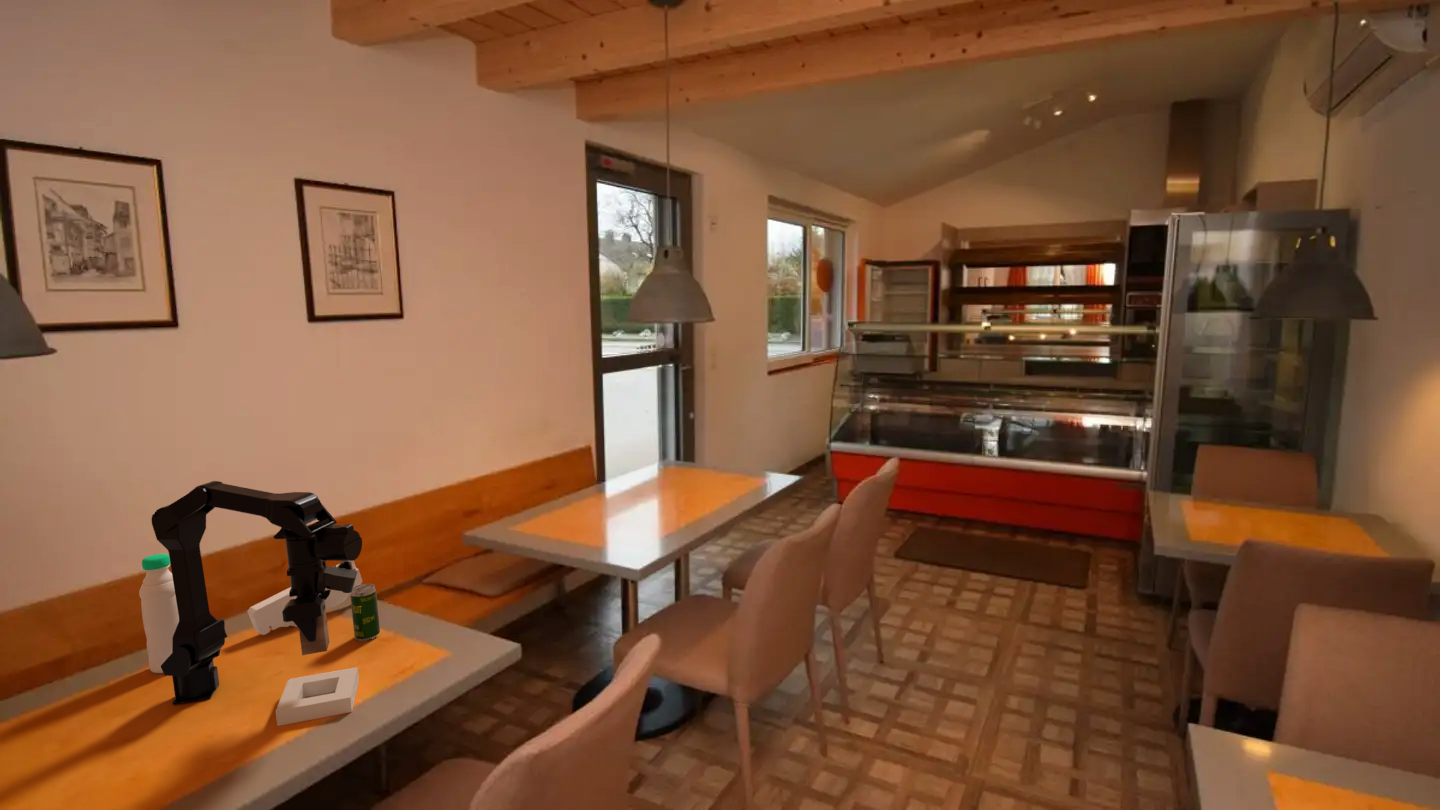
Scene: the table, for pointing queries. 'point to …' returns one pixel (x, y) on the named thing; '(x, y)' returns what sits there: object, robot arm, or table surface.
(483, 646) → the table surface
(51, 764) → the table surface
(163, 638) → the water bottle
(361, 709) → the table surface
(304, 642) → the walnut post
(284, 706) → the well block
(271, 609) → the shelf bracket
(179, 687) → the robot arm
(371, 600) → the beer can
